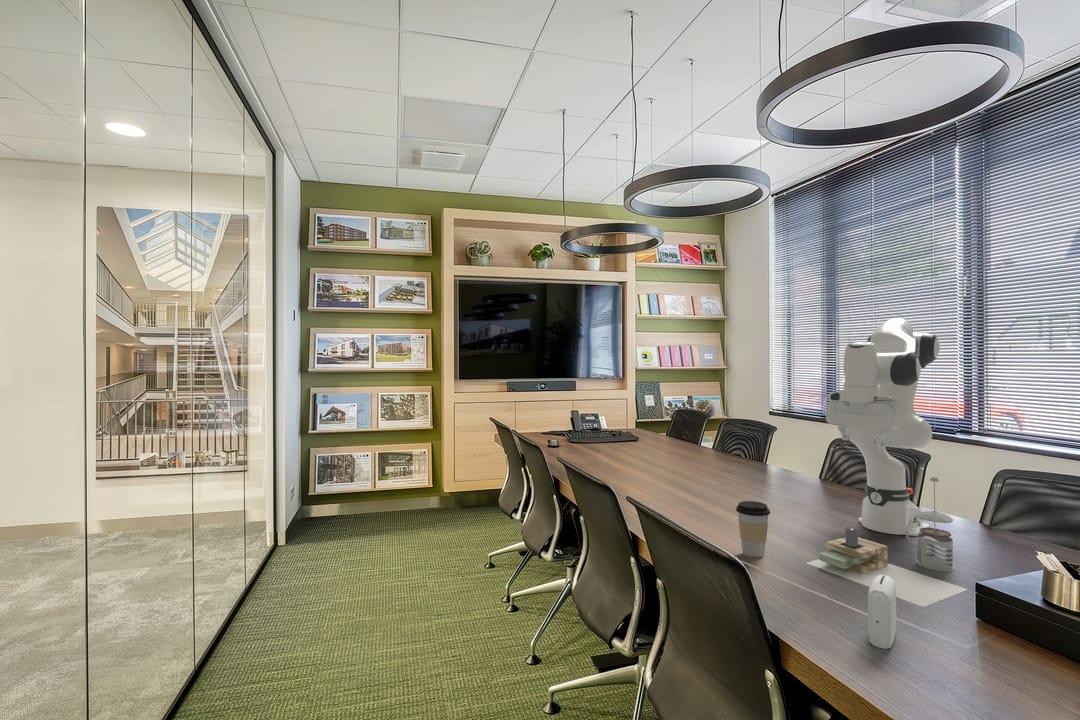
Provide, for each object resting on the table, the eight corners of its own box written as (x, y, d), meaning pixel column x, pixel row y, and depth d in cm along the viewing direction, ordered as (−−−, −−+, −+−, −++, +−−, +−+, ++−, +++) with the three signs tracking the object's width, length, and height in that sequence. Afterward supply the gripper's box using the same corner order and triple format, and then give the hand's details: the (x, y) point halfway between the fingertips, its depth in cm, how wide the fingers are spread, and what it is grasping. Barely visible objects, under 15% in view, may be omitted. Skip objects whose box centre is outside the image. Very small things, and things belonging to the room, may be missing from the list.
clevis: (851, 554, 154) (851, 535, 154) (887, 565, 145) (887, 546, 145) (814, 564, 146) (814, 545, 146) (849, 577, 137) (849, 556, 137)
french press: (964, 575, 139) (963, 481, 139) (912, 569, 143) (911, 478, 143) (949, 562, 148) (948, 474, 148) (901, 557, 152) (900, 471, 152)
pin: (849, 562, 147) (849, 526, 147) (860, 565, 145) (860, 529, 145) (843, 564, 146) (842, 528, 146) (853, 567, 143) (853, 531, 143)
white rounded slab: (892, 652, 103) (891, 589, 103) (866, 644, 106) (866, 583, 106) (898, 631, 111) (897, 573, 111) (874, 624, 114) (873, 568, 114)
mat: (849, 552, 156) (849, 550, 156) (968, 591, 129) (968, 589, 129) (805, 564, 147) (805, 562, 147) (923, 609, 120) (923, 607, 120)
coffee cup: (755, 563, 148) (754, 510, 148) (729, 552, 157) (728, 502, 157) (777, 557, 153) (777, 506, 153) (751, 547, 161) (750, 498, 161)
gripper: (904, 397, 148) (904, 446, 148) (835, 393, 166) (835, 437, 166) (891, 398, 145) (891, 448, 145) (822, 394, 164) (822, 438, 163)
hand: (861, 442), depth 156 cm, fingers open, 8 cm apart
